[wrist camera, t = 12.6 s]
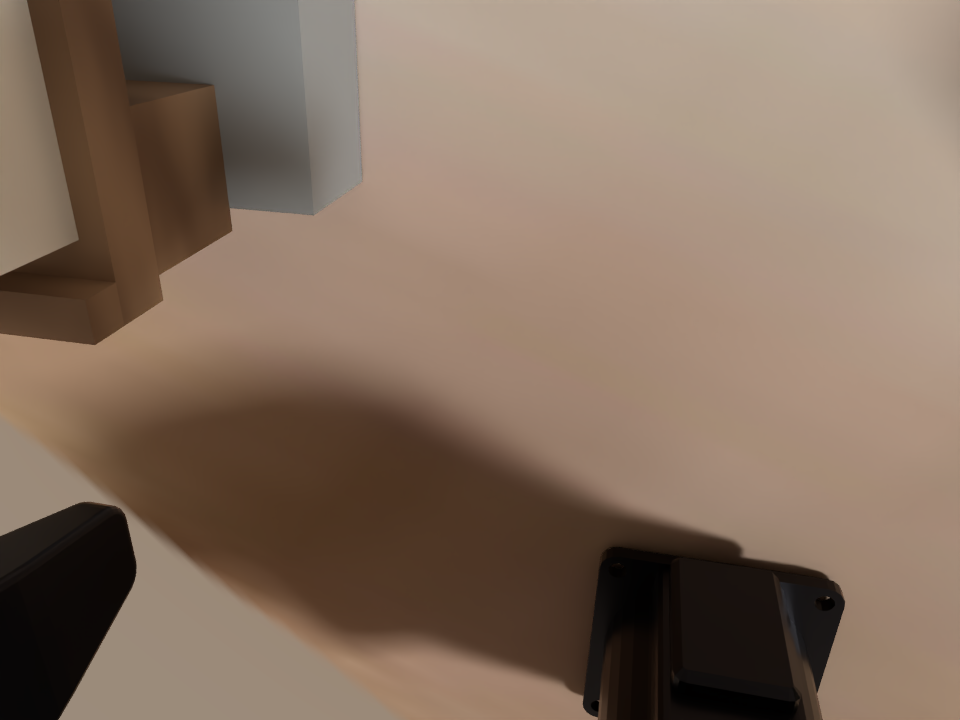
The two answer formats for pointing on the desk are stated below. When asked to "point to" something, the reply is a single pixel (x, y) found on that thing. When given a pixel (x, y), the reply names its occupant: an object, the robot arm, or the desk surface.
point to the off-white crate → (28, 151)
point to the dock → (261, 89)
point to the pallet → (115, 182)
